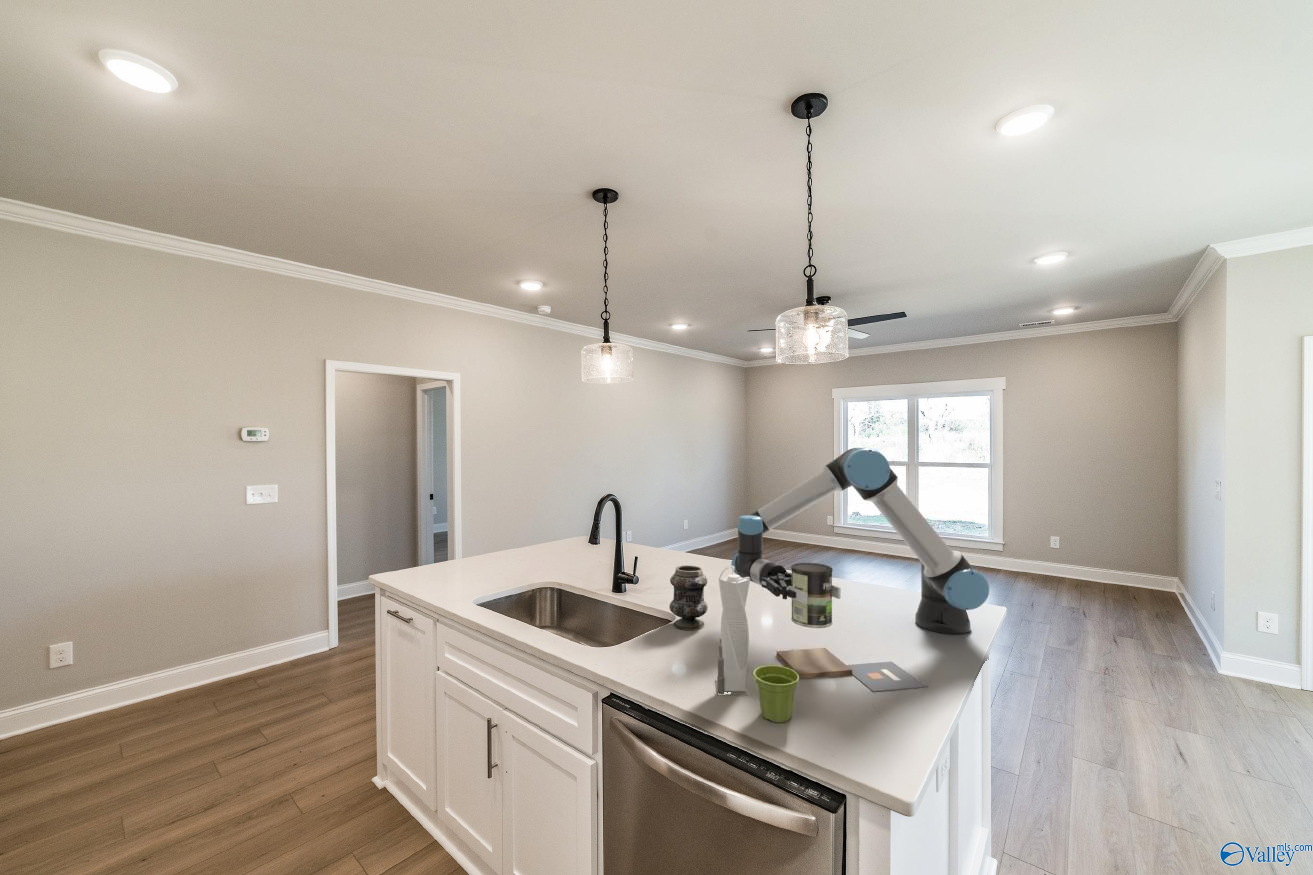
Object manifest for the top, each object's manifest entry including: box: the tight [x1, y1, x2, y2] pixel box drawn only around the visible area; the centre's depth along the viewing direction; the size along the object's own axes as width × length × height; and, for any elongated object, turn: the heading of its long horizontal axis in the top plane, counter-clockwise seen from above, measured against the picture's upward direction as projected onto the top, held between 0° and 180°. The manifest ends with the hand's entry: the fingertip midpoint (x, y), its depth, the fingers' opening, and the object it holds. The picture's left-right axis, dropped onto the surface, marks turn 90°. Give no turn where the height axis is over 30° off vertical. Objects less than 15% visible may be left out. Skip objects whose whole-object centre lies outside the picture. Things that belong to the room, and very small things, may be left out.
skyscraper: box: [714, 565, 751, 696], centre depth 123 cm, size 8×8×28 cm
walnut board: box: [776, 647, 853, 680], centre depth 135 cm, size 14×14×1 cm
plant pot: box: [752, 664, 800, 723], centre depth 110 cm, size 9×9×9 cm
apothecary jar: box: [668, 564, 709, 631], centre depth 164 cm, size 12×12×18 cm
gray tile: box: [846, 661, 929, 693], centre depth 128 cm, size 14×14×1 cm
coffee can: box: [790, 562, 833, 629], centre depth 135 cm, size 10×10×14 cm
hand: (823, 595), depth 131 cm, fingers closed on coffee can, 10 cm apart
